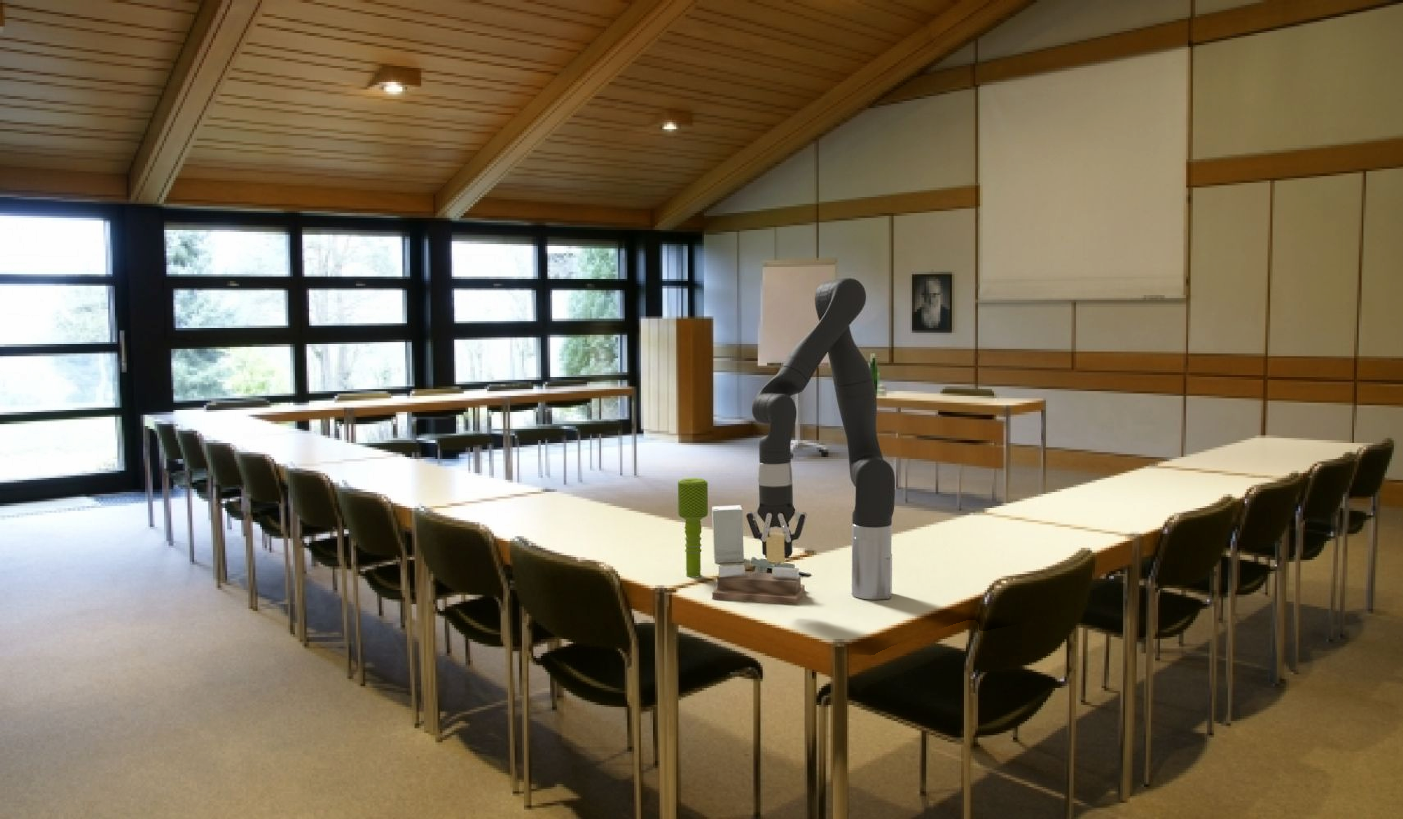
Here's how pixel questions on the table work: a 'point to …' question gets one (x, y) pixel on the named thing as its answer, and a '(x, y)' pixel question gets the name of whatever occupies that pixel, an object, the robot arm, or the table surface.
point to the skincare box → (728, 533)
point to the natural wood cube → (775, 547)
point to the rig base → (758, 596)
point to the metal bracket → (769, 565)
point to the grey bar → (776, 572)
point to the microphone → (693, 519)
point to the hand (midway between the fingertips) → (777, 557)
